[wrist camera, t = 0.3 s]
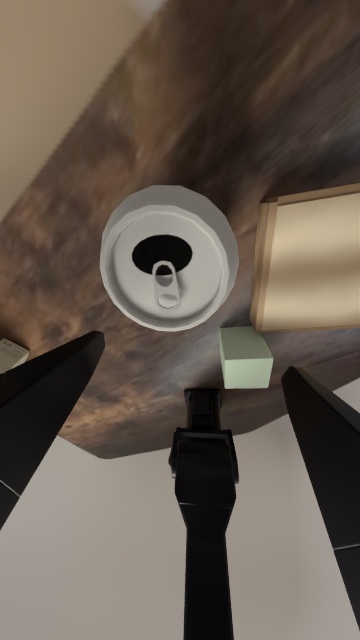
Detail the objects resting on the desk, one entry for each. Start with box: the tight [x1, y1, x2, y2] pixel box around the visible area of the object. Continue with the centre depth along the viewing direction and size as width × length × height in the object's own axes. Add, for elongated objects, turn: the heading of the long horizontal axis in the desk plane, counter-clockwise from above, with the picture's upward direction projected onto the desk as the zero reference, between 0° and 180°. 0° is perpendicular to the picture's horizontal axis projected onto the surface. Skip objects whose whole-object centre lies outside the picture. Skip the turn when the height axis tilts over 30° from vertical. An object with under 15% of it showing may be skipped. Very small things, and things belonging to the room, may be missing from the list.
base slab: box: [250, 182, 360, 333], centre depth 17 cm, size 13×13×3 cm
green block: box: [219, 326, 274, 389], centre depth 22 cm, size 5×5×6 cm
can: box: [100, 185, 239, 331], centre depth 13 cm, size 8×8×12 cm
